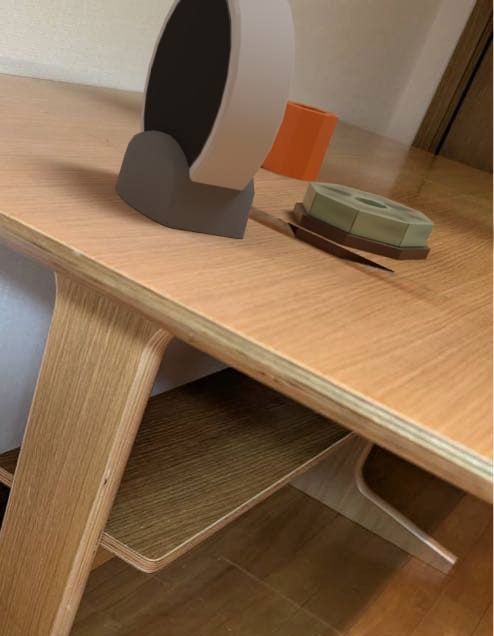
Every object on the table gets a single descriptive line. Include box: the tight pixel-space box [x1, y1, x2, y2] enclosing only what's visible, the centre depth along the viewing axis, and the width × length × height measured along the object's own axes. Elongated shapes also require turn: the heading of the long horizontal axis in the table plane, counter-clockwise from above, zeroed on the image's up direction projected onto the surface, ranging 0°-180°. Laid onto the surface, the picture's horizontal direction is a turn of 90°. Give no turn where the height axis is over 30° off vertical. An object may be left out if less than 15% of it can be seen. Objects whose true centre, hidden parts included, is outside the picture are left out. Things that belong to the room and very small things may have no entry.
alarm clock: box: [115, 0, 296, 240], centre depth 66 cm, size 16×10×18 cm, turn 18°
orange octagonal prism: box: [261, 100, 340, 182], centre depth 95 cm, size 6×6×8 cm
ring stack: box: [288, 181, 435, 273], centre depth 75 cm, size 12×12×4 cm
